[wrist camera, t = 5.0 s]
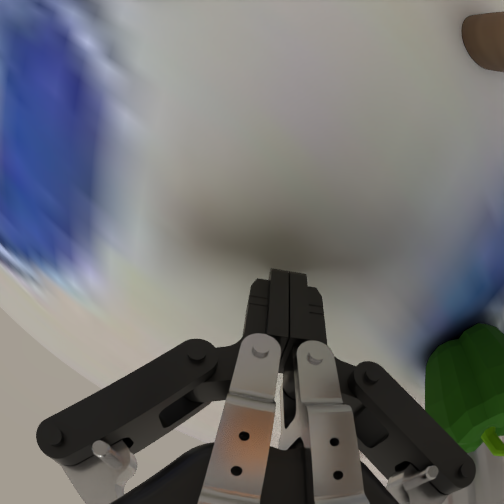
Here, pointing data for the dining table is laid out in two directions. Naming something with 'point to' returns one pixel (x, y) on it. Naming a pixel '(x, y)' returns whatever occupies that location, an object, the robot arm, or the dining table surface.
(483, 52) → the post
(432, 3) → the dining table surface
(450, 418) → the bell pepper
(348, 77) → the dining table surface
